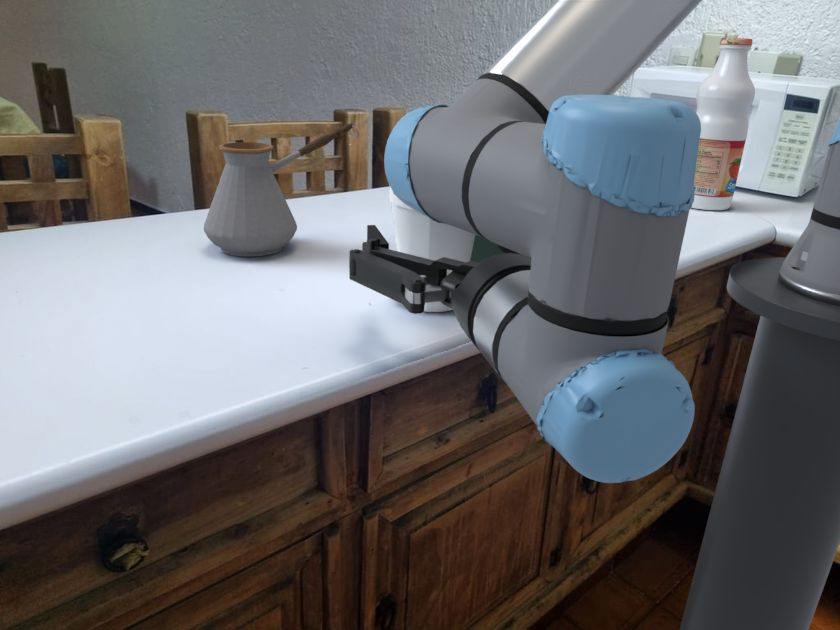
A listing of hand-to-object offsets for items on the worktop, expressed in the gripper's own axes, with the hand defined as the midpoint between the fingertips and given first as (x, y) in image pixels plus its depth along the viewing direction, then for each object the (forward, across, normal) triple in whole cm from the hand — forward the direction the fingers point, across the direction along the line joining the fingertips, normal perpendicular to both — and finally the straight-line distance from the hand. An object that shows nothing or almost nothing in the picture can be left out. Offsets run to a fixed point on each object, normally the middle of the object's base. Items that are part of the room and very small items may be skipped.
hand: (437, 236), depth 66 cm
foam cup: (+1, 0, -8) cm, 8 cm away
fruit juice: (+40, +62, -8) cm, 74 cm away
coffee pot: (+25, -13, -8) cm, 29 cm away
